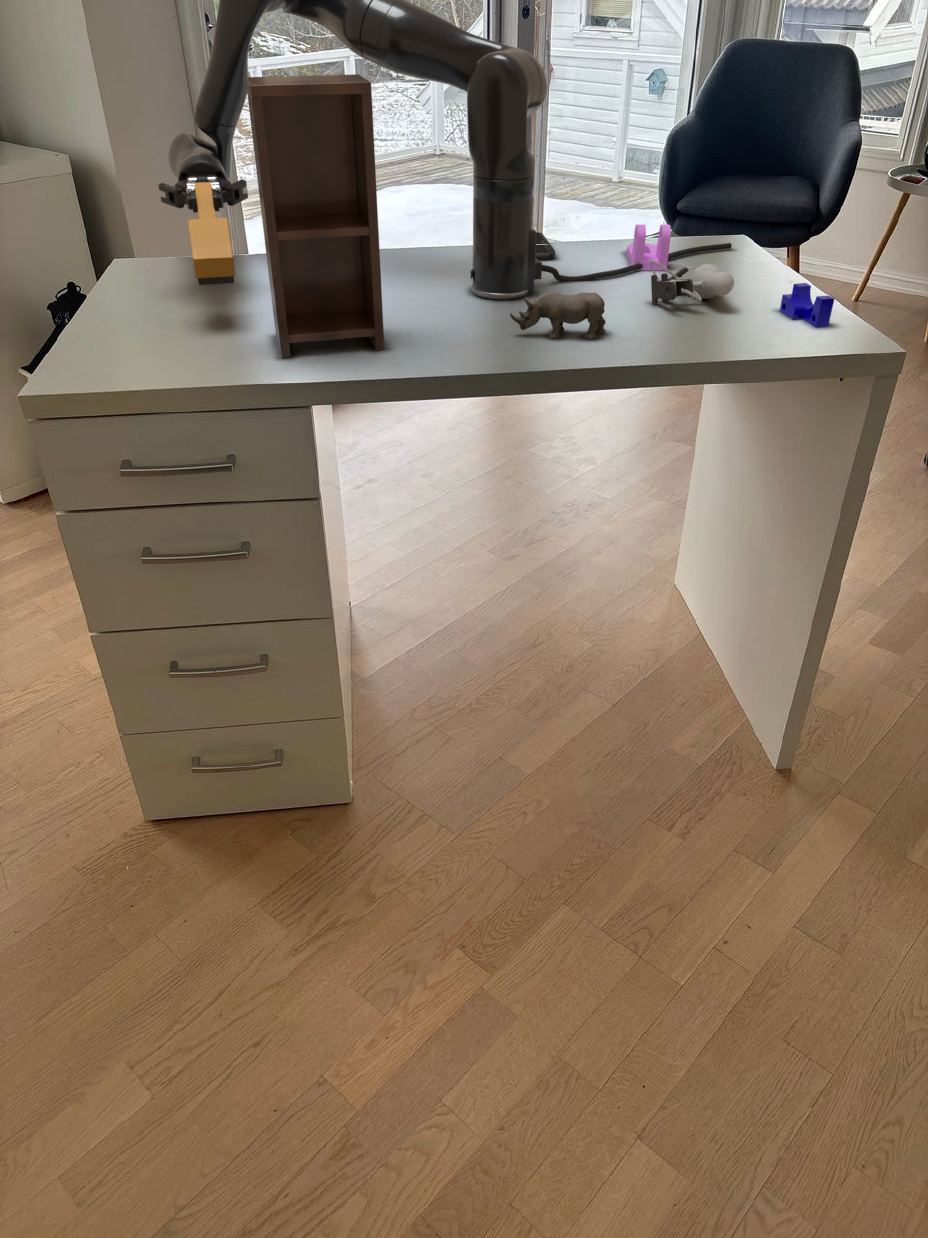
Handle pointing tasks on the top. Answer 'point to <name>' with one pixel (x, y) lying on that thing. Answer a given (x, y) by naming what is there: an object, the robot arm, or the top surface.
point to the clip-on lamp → (691, 283)
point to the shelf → (318, 205)
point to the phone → (543, 248)
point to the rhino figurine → (564, 312)
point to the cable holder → (807, 306)
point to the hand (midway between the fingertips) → (205, 204)
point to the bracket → (649, 248)
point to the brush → (210, 241)
